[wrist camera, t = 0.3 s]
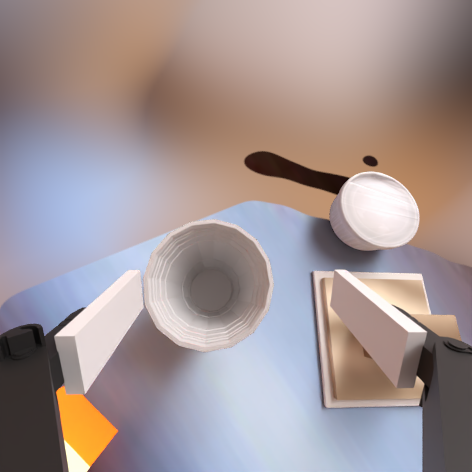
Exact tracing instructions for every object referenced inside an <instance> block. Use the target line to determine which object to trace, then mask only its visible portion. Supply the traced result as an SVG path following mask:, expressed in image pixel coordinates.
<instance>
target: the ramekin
mask: <svg viewBox="0 0 472 472" xmlns="http://www.w3.org/2000/svg"><path fill="white" fill-rule="evenodd" d="M330 223H331V226H332V228H333V231H334V232H335V234H336V235H337V236H338V238H340V240H341V241H343V242H344V243H345V244H347V245H348V246H351V247H352V248H355V249H358V250H364V251H371V250H378V249H385V250H386V249H393V248H397V247H400V246H402V245H404V244H406V243H407V242H409V241H410V240H411V239H412V237H414V235H415V234H416V231H417V229H418V226H419V210H418V207H417V204H416V202H415V200H414V198H413V197H412V195H411V194H410V192H409V191H408V190H407V189H406V188H405V187H404V186H403V185H402V184H401V183H399V182H398V181H397V180H395V179H394V178H392V177H390V176H387V175H385V174H382V173H378V172H363V173H359V174H357V175H354V176H353V177H351V178H350V179H349V180H348V181H347V182H346V183H345V184H344V185H343V186H342V188H341V189H340V192H339V194H338V195H337V197H336V198H335V200H334V201H333V203H332V205H331V209H330Z"/></svg>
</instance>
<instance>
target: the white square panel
mask: <svg viewBox="0 0 472 472" xmlns="http://www.w3.org/2000/svg"><path fill="white" fill-rule="evenodd" d="M312 273H313V284H314V295H315V307H316V318H317V329H318V340H319V351H320V362H321V373H322V385H323V396H324V406H325V407H326V408H340V407H382V406H419V403H420V399H421V398H418V399H370V400H337V399H335V398H334V393H333V383H332V373H331V363H330V354H329V344H328V334H327V324H326V314H325V304H324V294H323V285H322V278H333V277H334V271H312ZM349 273H350V274H352V275H353V276H354V277H356V278H361V279H399V280H422V284H423V289H424V293H425V297H426V301H427V306H428V310H429V314H430V315H431V312H430V308H429V304H428V299H427V295H426V291H425V287H424V282H423V278H422V274H407V273H372V272H349Z"/></svg>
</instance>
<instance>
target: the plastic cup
mask: <svg viewBox="0 0 472 472" xmlns="http://www.w3.org/2000/svg"><path fill="white" fill-rule="evenodd" d="M143 282H144V300H145V306H146V308H147V310H148V312H149V314H150V316H151V318H152V320H153V322H154V324H155V326H156V328H157V329H158V330H159V331H161V332H162V333H163V334H164V335H166V336H167V337H168V338H169V339H171V340H172V341H173V342H174V343H176V344H177V345H178V346H182V347H186V348H190V349H194V350H198V351H202V352H208V351H214V350H219V349H225V348H231V347H233V346H234V345H236V344H237V343H239V342H240V341H242V340H243V339H245V338H246V337H248V336H249V335H251V334H252V333H254V331H255V330H256V328H257V327H258V325H259V324H260V322H261V321H262V319H263V318H264V316H265V315H266V313H267V312H268V310H269V306H270V301H271V296H272V292H273V287H274V283H273V277H272V271H271V266H270V260H269V259H268V257H267V255H266V254H265V252H264V250H263V249H262V247H261V246H260V244H259V242H258V241H257V239H255V238H254V237H253V236H251V235H250V234H249V233H247V232H246V231H245V230H243V229H242V228H241V227H239V226H238V225H234V224H231V223H227V222H223V221H220V220H216V219H212V220H203V221H194V222H190V223H188V224H186V225H184V226H182V227H180V228H178V229H176V230H174V231H172V232H170V233H169V234H168V235H167V236H166V237H165V238H164V239H163V241H162V242H161V243H160V244H159V245H158V246H157V247H156V249H155V250H154V251H153V252H152V254H151V257H150V260H149V263H148V265H147V268H146V271H145V274H144V277H143Z"/></svg>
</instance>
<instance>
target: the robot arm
mask: <svg viewBox="0 0 472 472" xmlns="http://www.w3.org/2000/svg"><path fill="white" fill-rule="evenodd" d="M330 307H331V308H332V309H333V310H334V311H335V313H336V314H337V315H338V316H339V318H340V319H341V320H342V321H343V323H344V324H345V325H346V326H347V328H348V329H349V330H350V331H351V332H352V334H353V335H354V336H355V337H356V339H357V340H358V341H359V342H360V344H361V345H362V346H363V347H364V349H365V350H366V351H367V352H368V354H369V355H370V356H371V357H372V358H373V360H374V361H375V362H376V363H377V365H378V366H379V367H380V368H381V370H382V371H383V372H384V373H385V375H386V376H387V377H388V378H389V380H390V381H391V382H392V383H393V384H394V386H395V387H396V388H414V385H415V381H416V377H417V376H418V377H419V378H420V379H421V380H422V382H423V383H424V387H423V391H422V395H421V399H420V403H419V406H421V407H423V472H472V347H471V346H470V345H468V344H466V343H464V342H462V341H459V340H457V339H454V338H450V337H442V336H438V335H437V334H436V333H434V332H433V331H432V330H430V329H429V328H428V327H426V326H425V325H423V324H422V323H421V322H418V320H417V319H415V318H414V317H412V316H411V315H410V314H409V313H407V312H406V311H405V310H403V309H401V308H399V307H397V306H395V305H391V304H390V303H388V302H387V301H386V300H384V299H383V298H382V297H381V296H379V295H378V294H377V293H375V292H374V291H373V290H371V289H370V288H369V287H367V286H366V285H365V284H363V283H362V282H361V281H360V280H358V279H357V278H356V277H354V276H353V275H352V274H350V273H349V272H348V271H346V270H334V277H333V286H332V294H331V302H330ZM142 309H143V296H142V286H141V275H140V270H128V271H127V272H126V273H125V274H124V275H122V276H121V277H120V278H119V279H118V280H117V281H116V282H115V283H113V284H112V285H111V286H110V287H109V288H108V289H107V290H106V291H104V292H103V293H102V294H101V295H100V296H99V297H98V298H97V299H95V300H94V301H93V302H92V303H91V304H90V305H89V306H88V307H87V308H81V309H79V310H77V311H75V312H73V313H72V314H70V315H69V316H68V317H67V318H66V319H65V320H64V321H62V322H61V323H60V324H59V325H58V326H56V327H55V328H54V329H53V330H52V331H50V332H49V333H48V334H47V335H46V336H44V333H43V328H42V326H41V325H39V324H27V325H23V326H19V327H16V328H13V329H11V330H9V331H7V332H5V333H3V334H2V335H0V472H69V468H68V462H67V455H66V449H65V442H64V436H63V429H62V423H61V416H60V410H59V403H58V397H57V393H56V392H57V390H58V389H59V388H60V387H61V386H62V384H63V383H64V387H65V392H66V395H76V394H86V392H87V391H88V389H89V388H90V386H91V385H92V383H93V382H94V380H95V379H96V377H97V376H98V374H99V373H100V371H101V370H102V368H103V367H104V365H105V364H106V362H107V361H108V360H109V358H110V357H111V355H112V354H113V352H114V351H115V349H116V348H117V346H118V345H119V343H120V342H121V340H122V339H123V337H124V336H125V334H126V333H127V331H128V330H129V328H130V327H131V325H132V324H133V322H134V321H135V319H136V318H137V316H138V315H139V313H140V312H141V310H142Z"/></svg>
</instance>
